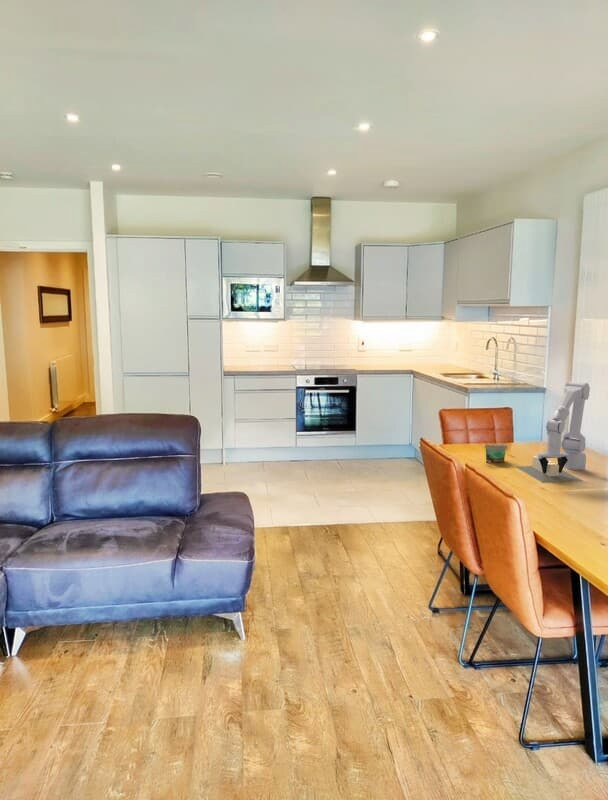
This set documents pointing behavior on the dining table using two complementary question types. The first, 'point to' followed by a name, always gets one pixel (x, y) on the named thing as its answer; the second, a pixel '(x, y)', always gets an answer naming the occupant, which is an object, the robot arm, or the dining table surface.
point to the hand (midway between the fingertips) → (551, 472)
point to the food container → (495, 453)
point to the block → (552, 469)
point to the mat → (545, 478)
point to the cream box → (537, 464)
